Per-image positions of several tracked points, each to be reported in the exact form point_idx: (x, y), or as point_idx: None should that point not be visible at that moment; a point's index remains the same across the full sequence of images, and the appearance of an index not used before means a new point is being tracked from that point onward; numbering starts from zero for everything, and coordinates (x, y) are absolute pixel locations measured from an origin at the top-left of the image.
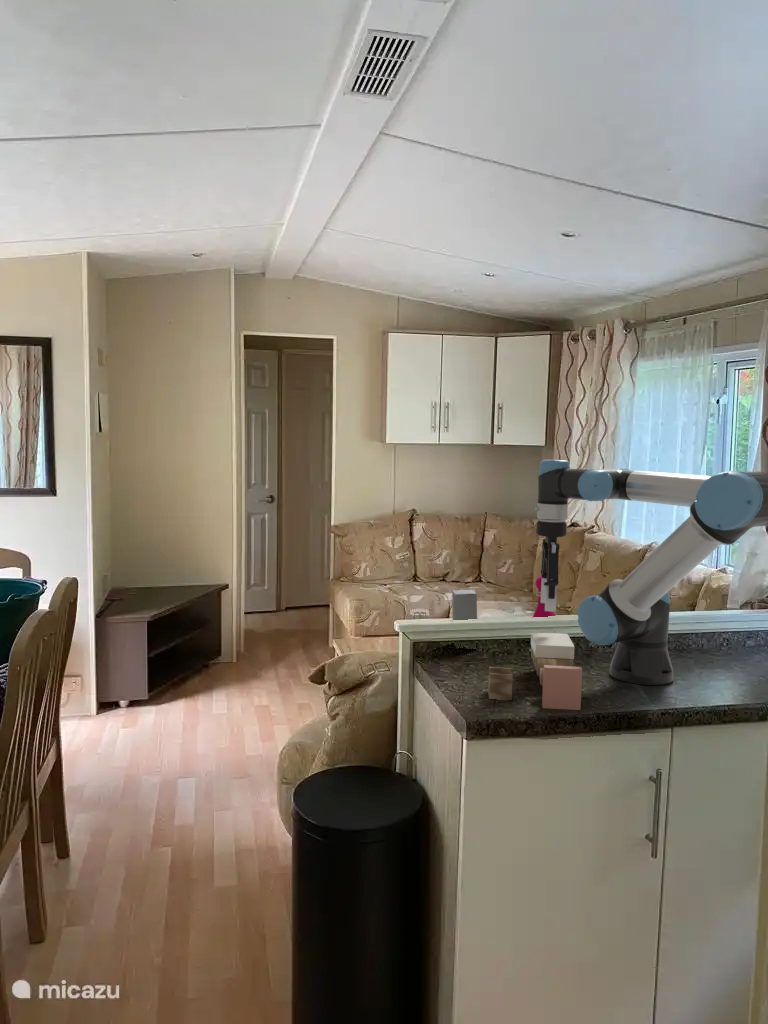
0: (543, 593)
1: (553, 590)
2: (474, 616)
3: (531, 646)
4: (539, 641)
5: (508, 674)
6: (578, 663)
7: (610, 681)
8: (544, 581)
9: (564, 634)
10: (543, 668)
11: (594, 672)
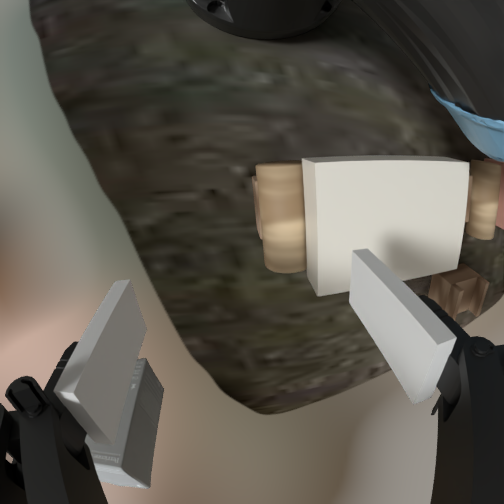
0: (130, 355)
1: (455, 333)
2: (135, 422)
3: (269, 267)
4: (429, 262)
5: (485, 289)
6: (167, 116)
7: (329, 49)
8: (110, 416)
9: (328, 175)
10: (491, 234)
11: (253, 75)
